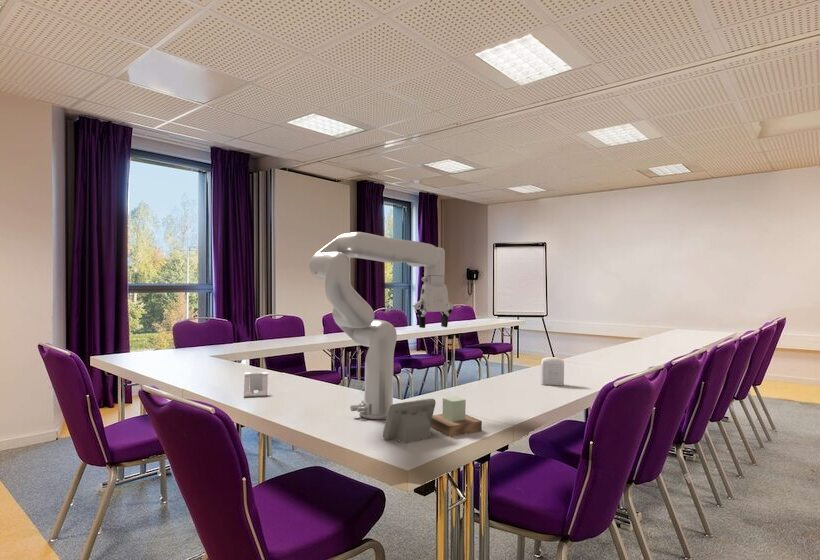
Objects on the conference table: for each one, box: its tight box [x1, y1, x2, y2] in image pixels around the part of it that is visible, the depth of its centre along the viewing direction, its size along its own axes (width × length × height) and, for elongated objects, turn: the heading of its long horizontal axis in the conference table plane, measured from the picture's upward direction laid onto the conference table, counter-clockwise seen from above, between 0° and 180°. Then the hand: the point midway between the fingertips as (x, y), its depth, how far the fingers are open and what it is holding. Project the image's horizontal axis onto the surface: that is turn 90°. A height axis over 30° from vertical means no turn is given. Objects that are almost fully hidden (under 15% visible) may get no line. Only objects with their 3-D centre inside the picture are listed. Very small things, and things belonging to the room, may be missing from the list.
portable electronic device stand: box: [243, 371, 269, 398], centre depth 186 cm, size 9×8×8 cm
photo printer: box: [540, 356, 565, 387], centre depth 215 cm, size 10×4×12 cm, turn 87°
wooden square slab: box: [430, 413, 483, 437], centre depth 146 cm, size 12×12×3 cm
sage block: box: [442, 395, 467, 422], centre depth 146 cm, size 5×5×6 cm
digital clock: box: [382, 398, 437, 444], centre depth 137 cm, size 16×9×11 cm, turn 114°
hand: (433, 327), depth 176 cm, fingers open, 9 cm apart
